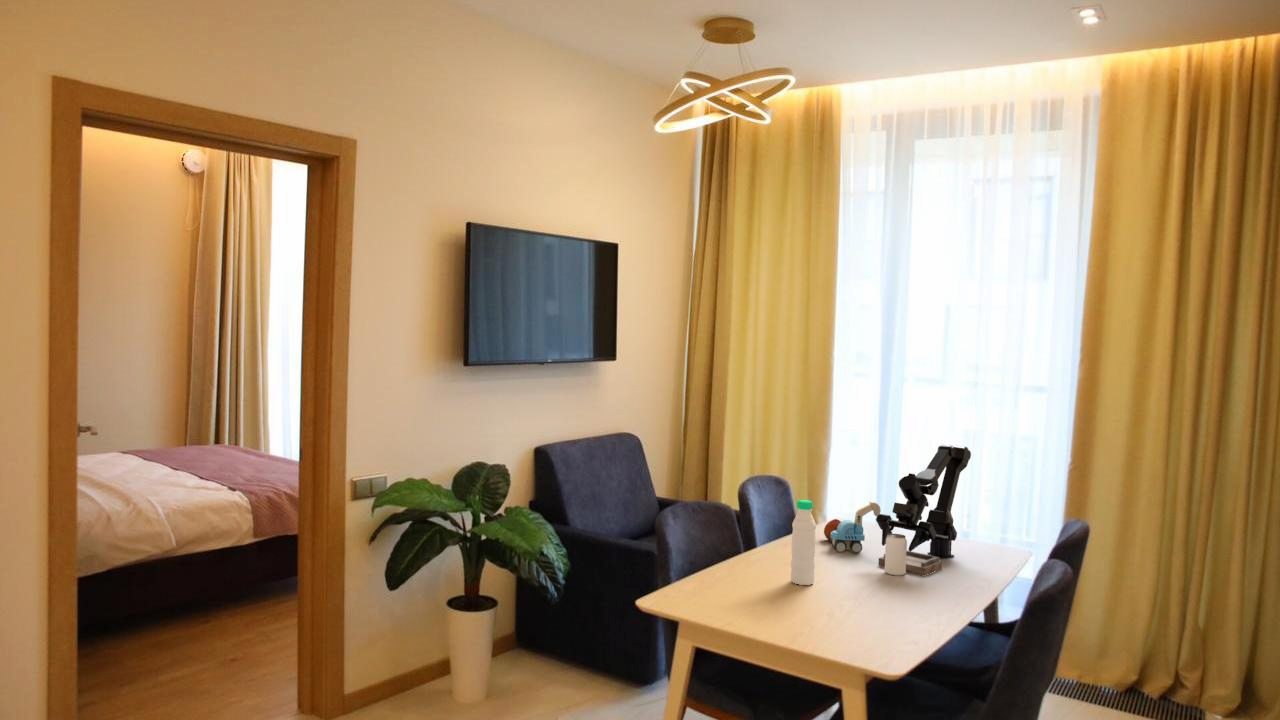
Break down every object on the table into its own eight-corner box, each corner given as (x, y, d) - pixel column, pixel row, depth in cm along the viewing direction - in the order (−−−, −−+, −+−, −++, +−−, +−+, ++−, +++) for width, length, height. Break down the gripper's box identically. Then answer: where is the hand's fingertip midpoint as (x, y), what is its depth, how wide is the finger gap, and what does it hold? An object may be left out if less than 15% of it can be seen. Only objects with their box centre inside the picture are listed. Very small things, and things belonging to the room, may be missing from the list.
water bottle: (818, 583, 275) (821, 501, 274) (805, 587, 270) (808, 504, 269) (798, 578, 280) (801, 497, 279) (785, 582, 275) (788, 500, 274)
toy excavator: (881, 554, 312) (883, 504, 311) (832, 553, 312) (834, 503, 311) (875, 548, 320) (877, 499, 320) (828, 546, 321) (829, 498, 320)
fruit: (843, 545, 323) (844, 523, 322) (820, 541, 328) (820, 519, 327) (852, 541, 330) (853, 519, 330) (829, 537, 335) (830, 515, 335)
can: (902, 577, 284) (903, 539, 283) (881, 573, 287) (883, 536, 287) (908, 572, 289) (909, 535, 289) (888, 569, 293) (889, 532, 292)
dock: (896, 559, 305) (896, 548, 305) (941, 569, 294) (942, 557, 294) (878, 565, 297) (878, 554, 297) (924, 576, 286) (924, 564, 286)
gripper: (879, 489, 298) (861, 527, 290) (933, 497, 285) (915, 538, 277) (890, 509, 304) (872, 547, 296) (943, 519, 291) (926, 559, 283)
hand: (895, 547), depth 288 cm, fingers open, 9 cm apart
